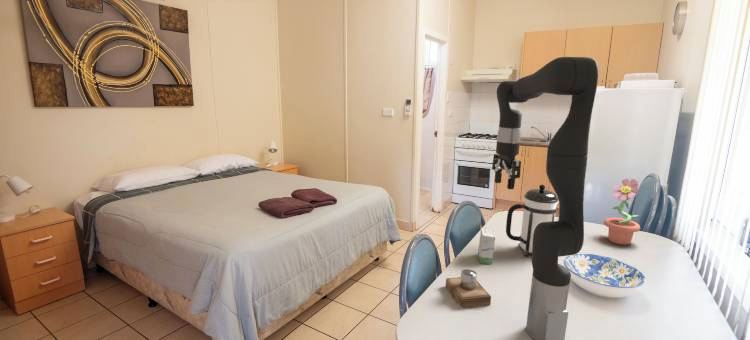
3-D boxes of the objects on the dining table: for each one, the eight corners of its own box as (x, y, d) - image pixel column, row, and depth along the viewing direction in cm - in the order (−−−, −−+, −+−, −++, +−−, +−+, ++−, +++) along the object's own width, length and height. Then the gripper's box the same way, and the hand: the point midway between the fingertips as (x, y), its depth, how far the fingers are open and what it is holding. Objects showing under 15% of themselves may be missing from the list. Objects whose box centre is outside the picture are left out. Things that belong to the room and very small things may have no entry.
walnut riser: (490, 304, 115) (491, 296, 114) (461, 307, 113) (461, 298, 112) (472, 283, 127) (472, 275, 127) (445, 286, 125) (446, 278, 125)
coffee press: (527, 241, 165) (534, 178, 159) (560, 255, 152) (570, 186, 145) (502, 249, 156) (509, 183, 149) (536, 264, 143) (545, 192, 136)
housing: (464, 291, 117) (465, 276, 115) (457, 283, 121) (458, 269, 120) (478, 290, 118) (479, 275, 116) (471, 282, 122) (472, 267, 121)
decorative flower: (592, 236, 173) (602, 175, 167) (616, 234, 176) (627, 174, 170) (618, 249, 159) (630, 183, 153) (644, 247, 162) (657, 182, 155)
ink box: (477, 254, 151) (480, 227, 149) (490, 255, 150) (493, 228, 148) (479, 263, 143) (481, 235, 141) (492, 264, 142) (495, 236, 140)
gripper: (488, 138, 130) (484, 181, 134) (509, 143, 117) (504, 191, 120) (507, 137, 132) (503, 180, 135) (530, 143, 118) (525, 191, 121)
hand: (503, 185), depth 128 cm, fingers open, 8 cm apart
